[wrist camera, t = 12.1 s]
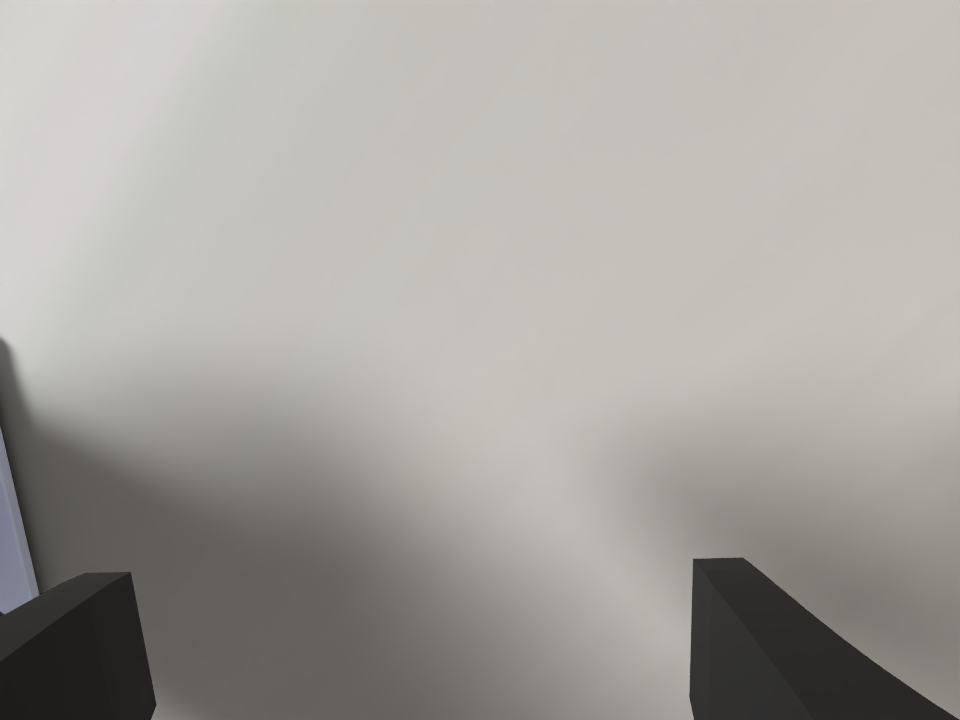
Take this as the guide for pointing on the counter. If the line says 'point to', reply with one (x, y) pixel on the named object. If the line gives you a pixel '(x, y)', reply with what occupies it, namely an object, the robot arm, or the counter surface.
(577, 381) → the counter surface
